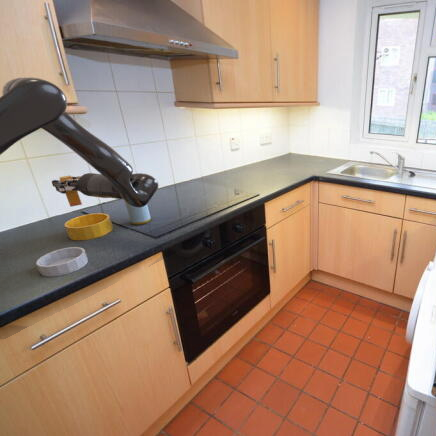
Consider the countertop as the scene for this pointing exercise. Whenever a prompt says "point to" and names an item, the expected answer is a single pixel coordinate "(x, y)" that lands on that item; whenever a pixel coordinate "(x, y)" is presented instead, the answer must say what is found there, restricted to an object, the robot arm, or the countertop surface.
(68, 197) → the supplement box
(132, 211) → the bottle
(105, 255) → the countertop surface
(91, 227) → the yellow bowl
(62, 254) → the gray bowl
